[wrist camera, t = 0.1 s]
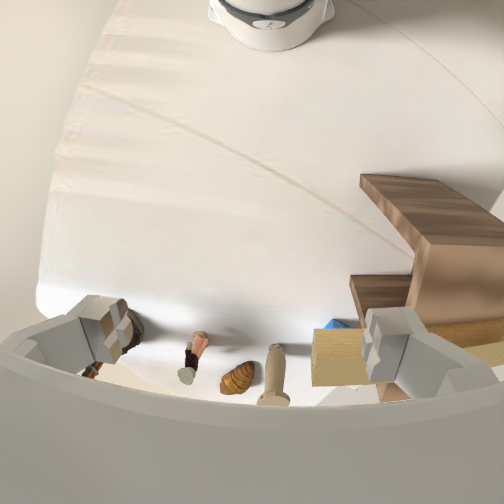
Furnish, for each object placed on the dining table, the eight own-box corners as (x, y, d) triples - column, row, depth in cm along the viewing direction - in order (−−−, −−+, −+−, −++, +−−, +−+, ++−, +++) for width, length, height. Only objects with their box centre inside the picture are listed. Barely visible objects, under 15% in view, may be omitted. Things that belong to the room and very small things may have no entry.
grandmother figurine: (214, 349, 63) (201, 394, 52) (198, 350, 64) (183, 394, 53) (203, 322, 60) (186, 367, 49) (186, 324, 61) (167, 368, 50)
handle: (295, 345, 60) (295, 403, 47) (276, 361, 63) (271, 417, 50) (277, 334, 60) (273, 392, 46) (258, 351, 62) (250, 407, 49)
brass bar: (314, 328, 26) (316, 358, 22) (512, 316, 23) (527, 336, 20) (310, 357, 27) (312, 386, 24) (500, 341, 25) (512, 361, 21)
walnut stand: (360, 173, 44) (430, 244, 21) (437, 180, 43) (537, 247, 19) (349, 284, 53) (379, 402, 30) (417, 284, 51) (473, 387, 28)
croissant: (235, 393, 70) (233, 409, 66) (211, 382, 69) (207, 398, 65) (265, 366, 65) (263, 383, 60) (239, 353, 64) (235, 370, 59)
